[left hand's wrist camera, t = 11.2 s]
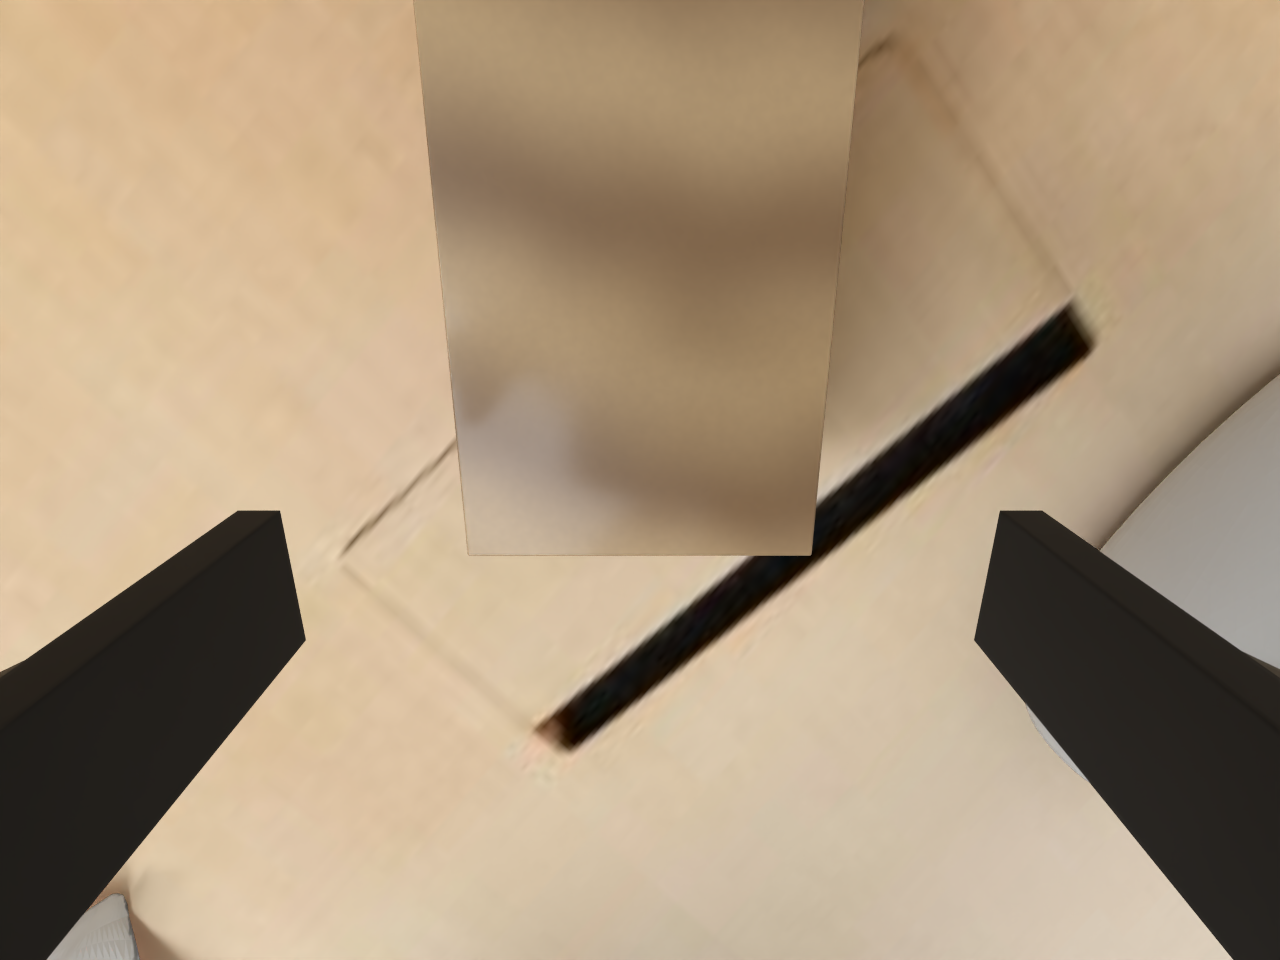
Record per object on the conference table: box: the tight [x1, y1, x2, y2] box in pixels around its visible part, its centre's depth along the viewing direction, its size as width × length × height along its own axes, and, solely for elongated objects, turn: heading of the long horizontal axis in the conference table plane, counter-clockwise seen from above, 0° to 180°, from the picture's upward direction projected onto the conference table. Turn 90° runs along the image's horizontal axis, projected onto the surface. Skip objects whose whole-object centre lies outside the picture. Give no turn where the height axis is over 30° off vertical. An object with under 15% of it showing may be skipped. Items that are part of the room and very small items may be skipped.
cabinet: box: [413, 0, 864, 556], centre depth 22 cm, size 20×11×10 cm, turn 0°
